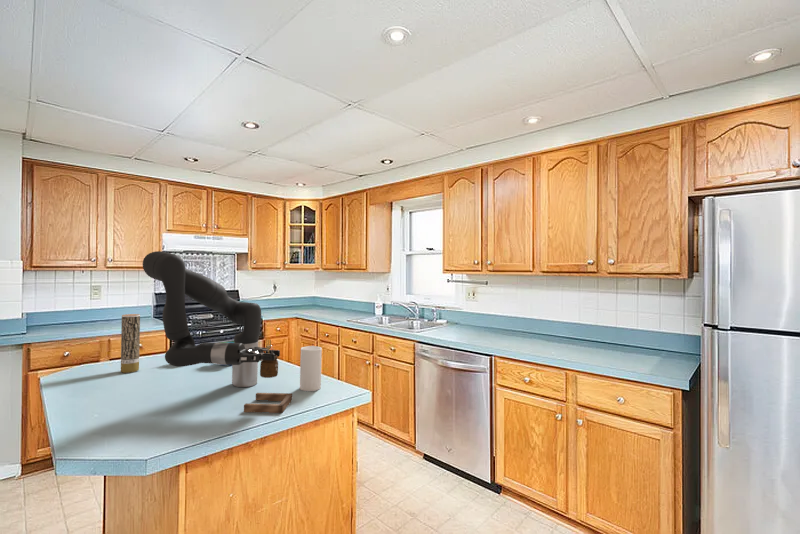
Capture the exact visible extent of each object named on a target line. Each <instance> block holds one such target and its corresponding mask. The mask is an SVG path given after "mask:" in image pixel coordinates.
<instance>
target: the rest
mask: <svg viewBox="0 0 800 534" xmlns="http://www.w3.org/2000/svg"><path fill="white" fill-rule="evenodd" d="M256 400H268V401H267V402H280V403H244V404H243V413H262V412H269V413H270V414H271V413H272V414H273V413H274V414H283V413H284V412H285V410H286V409H287V408H288V406H289V405H290V404H291V402H292V401H293V393H289V392H288V393H287V392H286V393H284V392H281V393H280V392H256V393H255V401H256ZM289 403H290V404H289ZM286 407H287V408H286ZM269 413H268V414H269Z"/></svg>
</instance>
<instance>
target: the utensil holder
mask: <svg viewBox="0 0 800 534" xmlns="http://www.w3.org/2000/svg"><path fill="white" fill-rule="evenodd" d="M265 345H266V347H265V348H267V349H268V350H267V353H269V350H274V345H272V339H266V344H265ZM259 365H260V368H259V375H260V377H261V378H265V379H266V378H267V379H269V378H270V379H271V378H276V377H277V376H278V375H279V361H278V357H277V355H275V360H273V361H272V360H263V361H260V364H259Z"/></svg>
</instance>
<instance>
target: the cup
mask: <svg viewBox="0 0 800 534" xmlns="http://www.w3.org/2000/svg"><path fill="white" fill-rule="evenodd" d="M322 350H323V348H322V347H321V346H318V345H317V346H316V345H307V346H302V347H300V362H299V363H300V364H299V365H300V367H299V368H300V370H299V373H300V374H299V390H301V391H304V392H315V391H318V390H320V389H321V387H322V352H323V351H322Z"/></svg>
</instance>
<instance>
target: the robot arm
mask: <svg viewBox="0 0 800 534" xmlns="http://www.w3.org/2000/svg"><path fill="white" fill-rule="evenodd" d="M142 268H143V271H144V273H145V274H146V275H147V276H148V277H150V278H151V279H153V280H156V281H159V282H162V284H163V286H164V291H165V304H164V306H163V310H162V325H163V330H164V334H165V337H166V338H167V339H168V340H170V341H174V342H173V344H172V346H171V347H170V348H168V349H167V351H166V352H165V355H164V360H165V362H166V363H168V364H169V365H170V366H173V367H179V368H181V367H182V368H183V367H189V366H193V365H199V364H211V365H212V364H215V365H220V366H222V365H229V366H231V367H232V369H231V370H232V371H231V372H232V373H231V374H232V375H231V383H232V386H234V387H237V388H248V387H249V388H250V387H253V386H256V385H257V384H258V375H259V374H258V373H259V372H258V370H259V369H258V368H259V365H258V363H259V362H261V361H263V360H272V361H273V360H275V355H277V358H279V357H281V352H280V350H279V349H273V350H272V349H269V353H267V350H268V349H267V348H266V347H262V346H259V336H260V334H261V327H262V325H261V324H262V308H261V306H260V305H259V303H255V302H245V301H239V300H237V299H234V298H232V297H230V296H229V295H228V292H227V290H226V288H225V287H224V286H223V285H221V284H220V283H218V282H217V281H215V280H214V279H212V278H210V277H208V276H206V275H203V274H201V273H199V272H195V271H193V270H190V269H188V268H186V263H185V261H184V260H183V258H181V256H179V255H176V254H174V253H170V252H167V251H161V250H158V251H151V252H150V253H148V254H146V255H145V257H144V258H143V260H142ZM186 296H187V297H189V298H190V299H192V300H194V301H195V302H196V303H198V304H200V305H203V306H204V307H207V308H209V309H211V310H213V311H215V312H216V313H217V312H218V313H219V314H220V315H222V316H223V317H225V318H227V319H228V320H229V321H231V322H232V323H233V324H236V325H240V326H243V330H242V332H240V333H237V334H235V335H234V337H233V342H234V343H221V342H201V343H199V344H198V345H196V342H195V339H194V338H193V336H192V333H191V332H190V330H189V323H188V319H187V312H186Z"/></svg>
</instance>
